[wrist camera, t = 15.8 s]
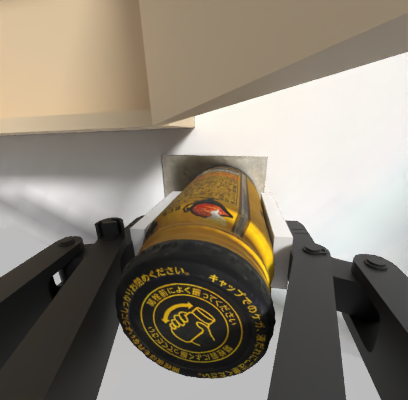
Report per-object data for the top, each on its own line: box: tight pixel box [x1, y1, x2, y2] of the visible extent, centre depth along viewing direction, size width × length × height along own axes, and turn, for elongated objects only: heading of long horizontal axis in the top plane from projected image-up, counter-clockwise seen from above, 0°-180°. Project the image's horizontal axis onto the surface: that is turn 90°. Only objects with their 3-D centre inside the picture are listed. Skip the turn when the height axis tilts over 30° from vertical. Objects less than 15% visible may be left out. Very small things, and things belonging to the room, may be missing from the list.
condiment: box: [115, 155, 276, 378], centre depth 12 cm, size 7×8×12 cm
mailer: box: [0, 0, 195, 136], centre depth 13 cm, size 22×14×6 cm, turn 92°
